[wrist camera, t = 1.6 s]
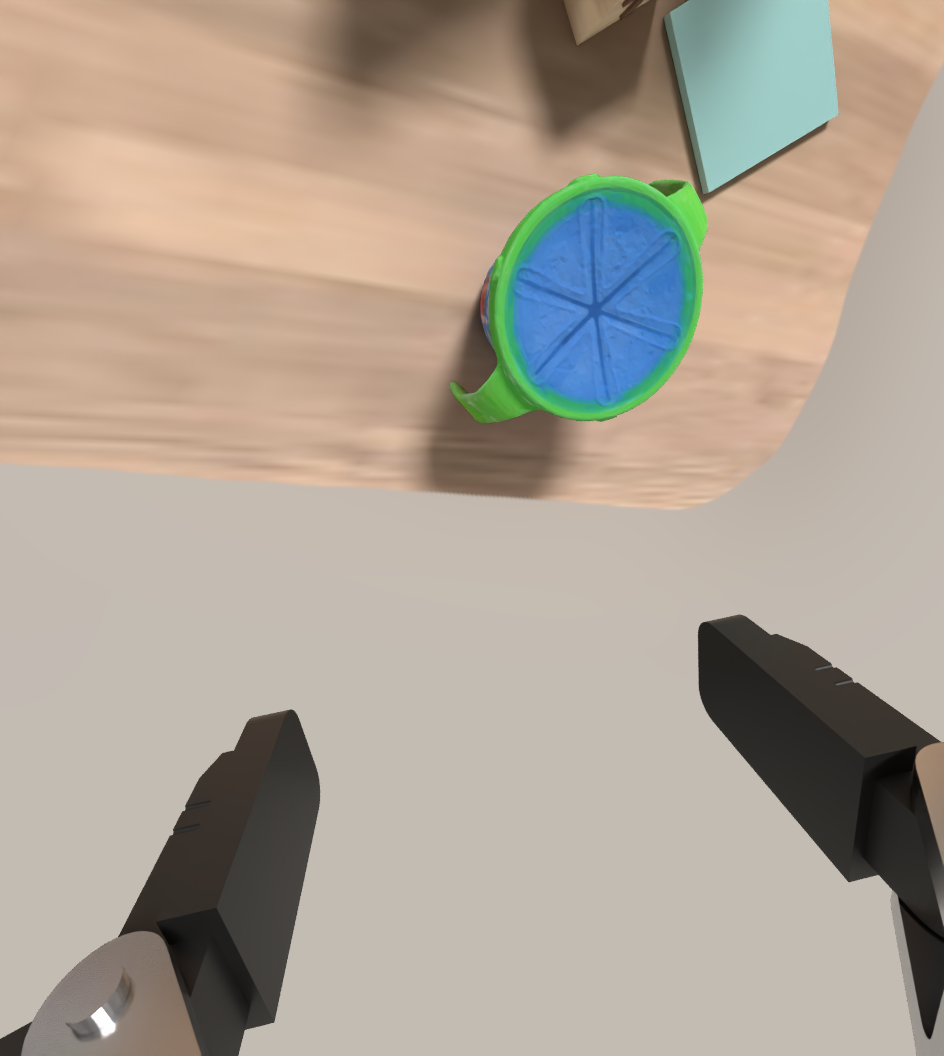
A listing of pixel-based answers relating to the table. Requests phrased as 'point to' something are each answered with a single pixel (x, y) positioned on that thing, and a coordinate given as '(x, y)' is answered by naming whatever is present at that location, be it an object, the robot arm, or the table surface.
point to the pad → (750, 78)
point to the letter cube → (596, 15)
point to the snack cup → (592, 300)
